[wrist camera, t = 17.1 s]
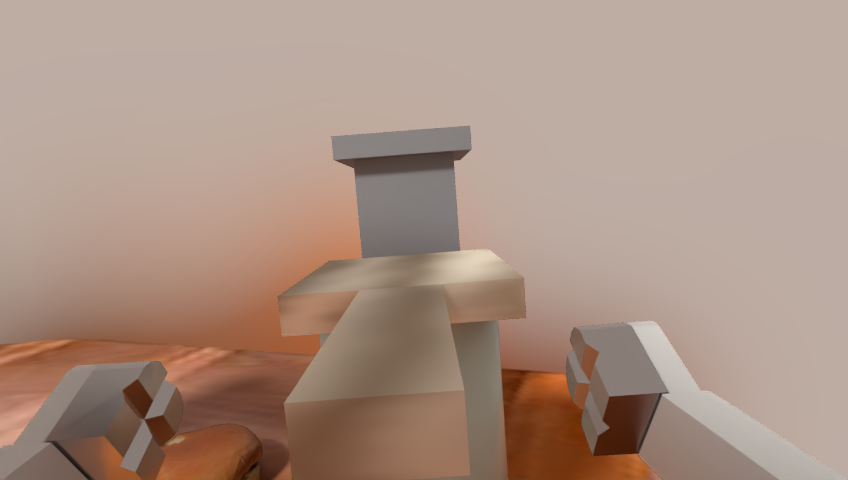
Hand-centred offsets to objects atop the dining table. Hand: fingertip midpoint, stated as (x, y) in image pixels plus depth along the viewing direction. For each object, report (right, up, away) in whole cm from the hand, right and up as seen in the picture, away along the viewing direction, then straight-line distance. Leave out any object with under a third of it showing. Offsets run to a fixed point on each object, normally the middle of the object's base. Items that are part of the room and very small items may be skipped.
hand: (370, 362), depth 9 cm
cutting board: (0, -2, +13) cm, 13 cm away
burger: (-18, -20, +31) cm, 41 cm away
